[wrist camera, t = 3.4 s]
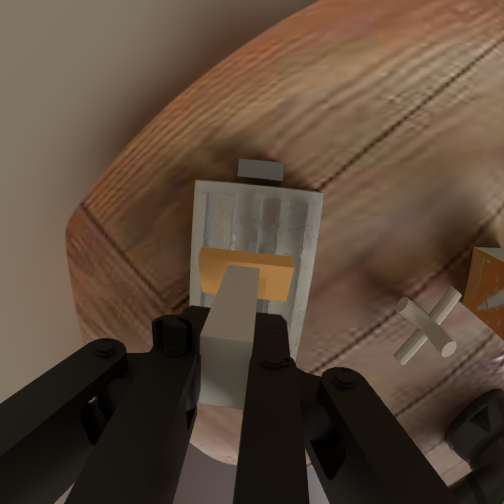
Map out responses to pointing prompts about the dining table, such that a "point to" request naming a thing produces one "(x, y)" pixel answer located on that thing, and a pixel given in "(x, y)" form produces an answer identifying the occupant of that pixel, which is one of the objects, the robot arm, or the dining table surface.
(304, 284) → the heatsink
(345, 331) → the dining table surface
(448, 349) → the pipe connector
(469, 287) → the small box
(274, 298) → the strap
